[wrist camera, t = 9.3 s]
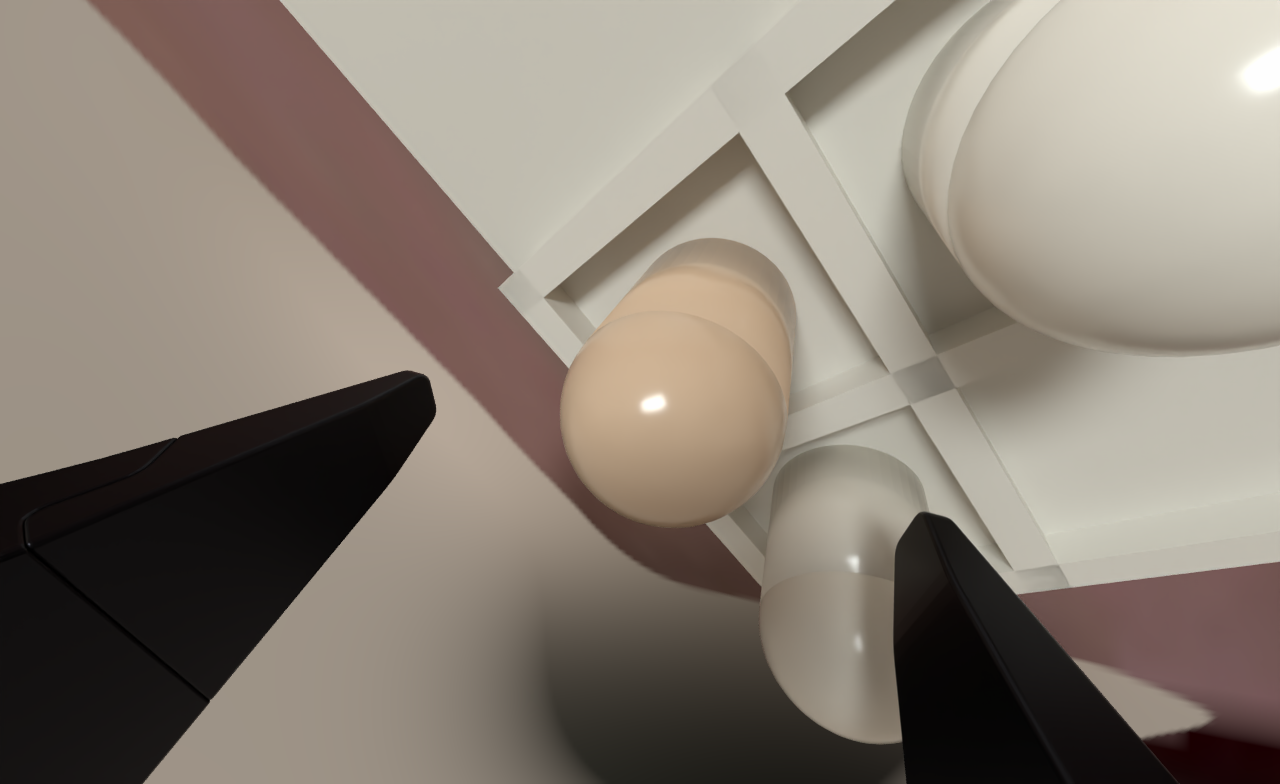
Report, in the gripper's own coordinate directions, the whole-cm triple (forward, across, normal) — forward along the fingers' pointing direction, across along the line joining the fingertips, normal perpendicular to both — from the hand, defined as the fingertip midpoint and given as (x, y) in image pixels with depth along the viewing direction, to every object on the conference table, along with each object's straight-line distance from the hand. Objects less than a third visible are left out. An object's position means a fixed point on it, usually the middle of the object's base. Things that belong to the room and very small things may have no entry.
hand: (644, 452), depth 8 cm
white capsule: (+6, -5, +5) cm, 9 cm away
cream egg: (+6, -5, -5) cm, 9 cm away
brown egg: (+6, 0, 0) cm, 6 cm away
